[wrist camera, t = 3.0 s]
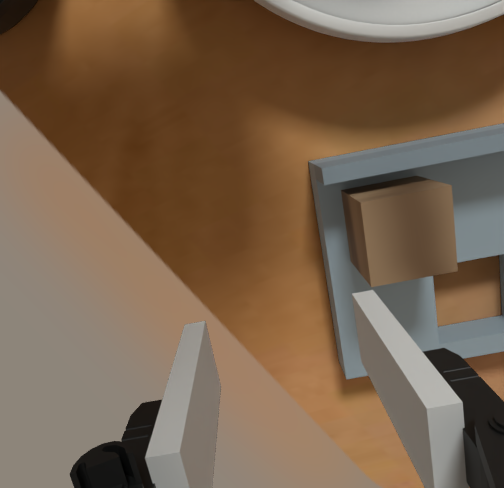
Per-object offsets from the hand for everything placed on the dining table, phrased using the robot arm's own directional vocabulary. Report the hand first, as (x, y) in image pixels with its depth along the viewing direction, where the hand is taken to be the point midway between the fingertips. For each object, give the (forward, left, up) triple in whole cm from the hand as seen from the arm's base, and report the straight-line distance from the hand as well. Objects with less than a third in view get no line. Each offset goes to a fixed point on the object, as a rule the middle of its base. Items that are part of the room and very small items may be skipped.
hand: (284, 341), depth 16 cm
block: (+8, 0, -14) cm, 16 cm away
